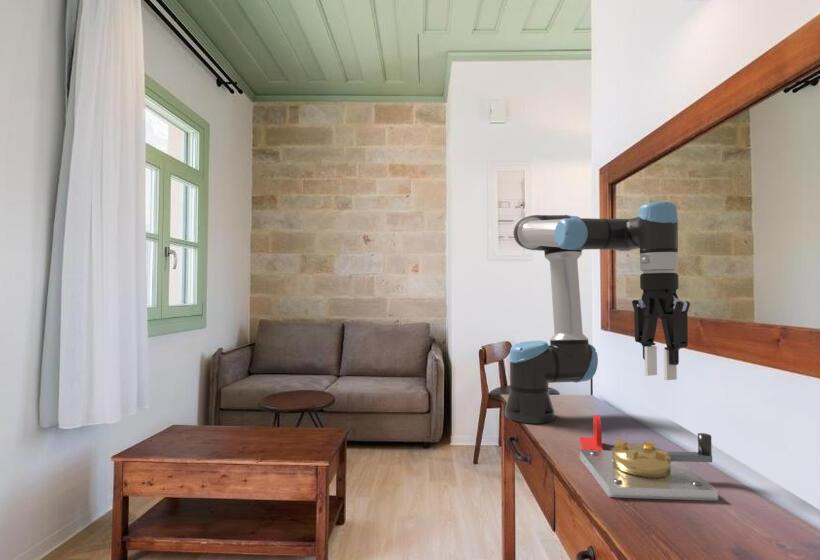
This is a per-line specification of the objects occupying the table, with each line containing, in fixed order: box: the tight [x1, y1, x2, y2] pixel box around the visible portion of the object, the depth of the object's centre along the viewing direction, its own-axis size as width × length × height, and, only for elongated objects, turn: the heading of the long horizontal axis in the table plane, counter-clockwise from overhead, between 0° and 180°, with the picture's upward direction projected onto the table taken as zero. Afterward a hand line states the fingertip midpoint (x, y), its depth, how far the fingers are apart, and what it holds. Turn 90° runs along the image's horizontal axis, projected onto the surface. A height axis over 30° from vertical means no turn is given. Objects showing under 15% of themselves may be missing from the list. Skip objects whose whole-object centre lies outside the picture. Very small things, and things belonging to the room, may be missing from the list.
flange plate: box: [579, 449, 719, 502], centre depth 97 cm, size 20×20×2 cm
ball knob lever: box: [612, 432, 713, 477], centre depth 97 cm, size 20×11×7 cm, turn 85°
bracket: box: [579, 414, 604, 450], centre depth 114 cm, size 12×4×8 cm, turn 165°
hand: (660, 376), depth 101 cm, fingers open, 4 cm apart
